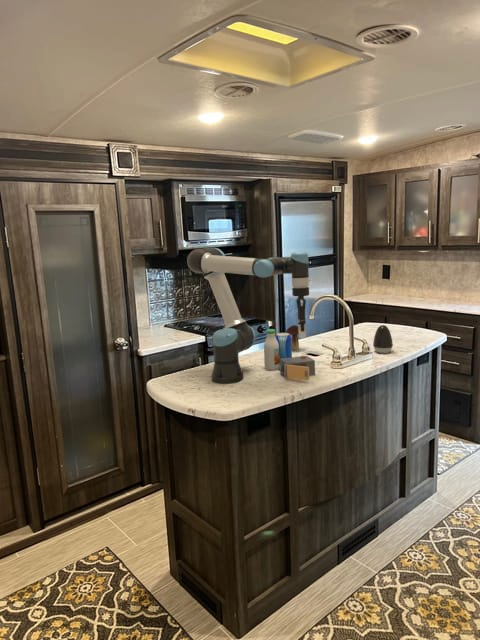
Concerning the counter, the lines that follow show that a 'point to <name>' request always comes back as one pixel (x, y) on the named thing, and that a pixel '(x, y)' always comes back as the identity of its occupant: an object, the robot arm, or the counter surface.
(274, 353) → the milk bottle
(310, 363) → the camera body
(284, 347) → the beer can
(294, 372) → the side door
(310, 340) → the counter surface
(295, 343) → the decorative mushroom
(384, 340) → the egg shaped speaker
